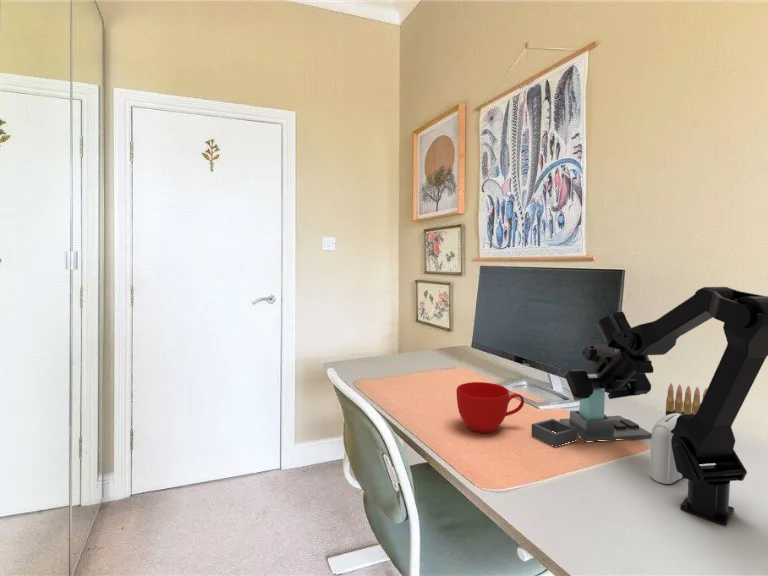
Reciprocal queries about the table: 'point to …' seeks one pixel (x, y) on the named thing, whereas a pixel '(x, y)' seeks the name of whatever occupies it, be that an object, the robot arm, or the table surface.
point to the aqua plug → (593, 404)
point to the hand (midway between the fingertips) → (592, 398)
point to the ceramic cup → (484, 405)
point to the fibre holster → (545, 432)
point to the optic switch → (605, 428)
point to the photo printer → (663, 451)
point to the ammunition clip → (679, 402)
